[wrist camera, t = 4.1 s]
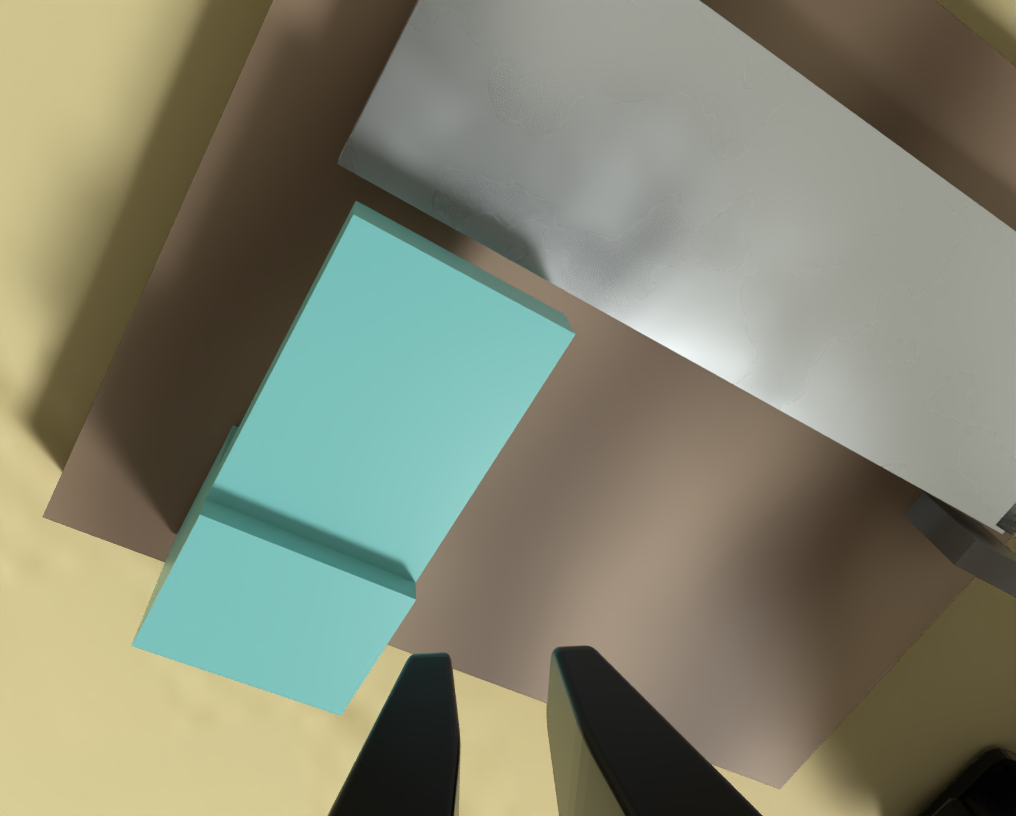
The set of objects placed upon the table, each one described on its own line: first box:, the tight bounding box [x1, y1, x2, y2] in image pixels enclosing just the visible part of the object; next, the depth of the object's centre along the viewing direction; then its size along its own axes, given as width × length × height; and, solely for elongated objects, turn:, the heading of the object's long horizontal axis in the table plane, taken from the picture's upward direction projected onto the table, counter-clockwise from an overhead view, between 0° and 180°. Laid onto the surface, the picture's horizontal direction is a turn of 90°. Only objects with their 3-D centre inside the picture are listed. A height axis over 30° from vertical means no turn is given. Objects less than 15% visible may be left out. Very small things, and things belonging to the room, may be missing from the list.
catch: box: [132, 201, 575, 716], centre depth 16 cm, size 4×8×3 cm, turn 149°
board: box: [43, 0, 1016, 789], centre depth 18 cm, size 20×17×4 cm
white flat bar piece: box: [337, 0, 1016, 536], centre depth 16 cm, size 17×5×1 cm, turn 59°
